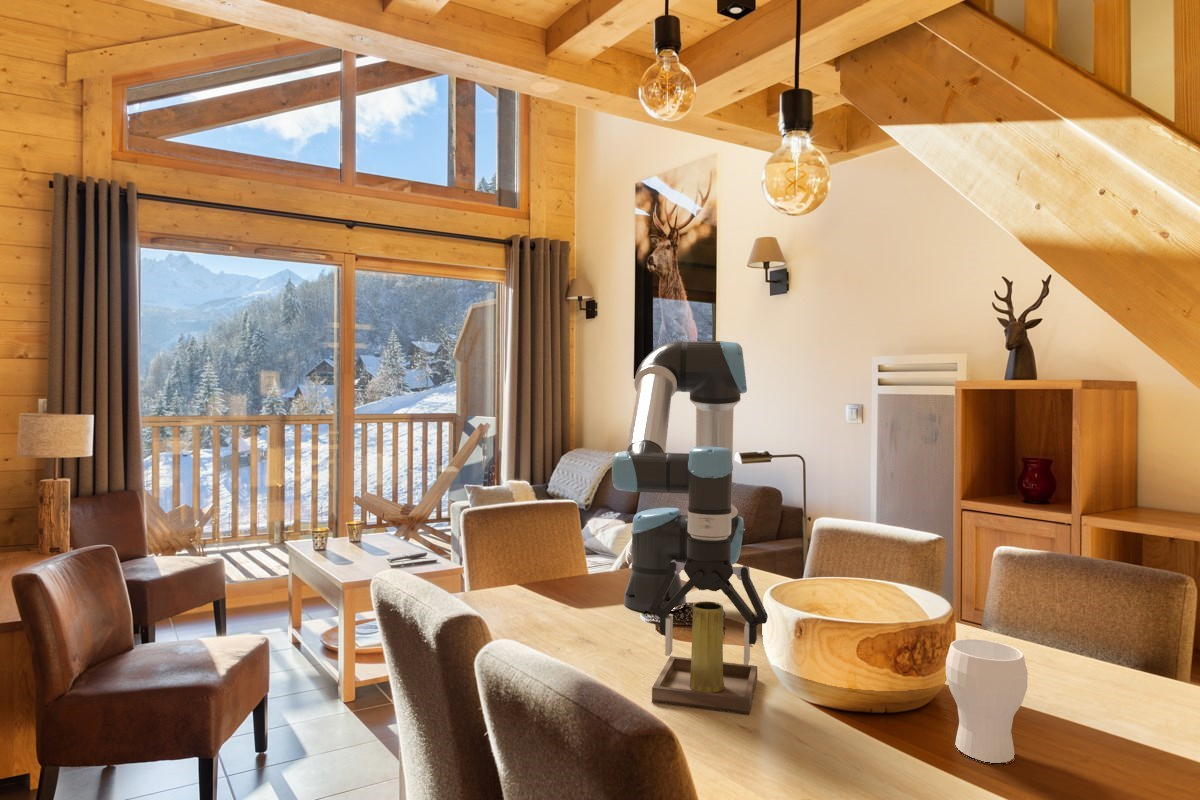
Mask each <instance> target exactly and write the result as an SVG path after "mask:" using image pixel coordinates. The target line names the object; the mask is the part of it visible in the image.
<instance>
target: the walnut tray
mask: <svg viewBox="0 0 1200 800" xmlns="http://www.w3.org/2000/svg"><path fill="white" fill-rule="evenodd" d="M690 673H691V657H682V656H674V655H673V656H672V655H670V656H669V657H668V660H667V661H666V662H665V665H664V666H663V668H662V670H661V672H660V674H659V675H658V676H657V678H656V680H655V682H654V684H653V685H652V687H651V703H653V704H659V705H660V704H661V705H668V706H676V707H681V708H682V707H683V708H689V709H699V710H705V711H707V710H708V711H712V712H713V711H715V712H721V713H728V714H729V713H730V714H737V715H742V716H743V715H744V716H750V714H751V710H752V705H753V700H754V696H755V691H756V687H757V684H758V665H751V664H748V665H744V663H735V662H725V661H723V680H724V689H723V690H722V691H721V692H718V693H710V692H702V691H694V690H693V689H691V688H690V686H689V683H690Z"/></svg>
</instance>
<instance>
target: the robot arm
mask: <svg viewBox="0 0 1200 800" xmlns="http://www.w3.org/2000/svg"><path fill="white" fill-rule="evenodd" d="M744 359H745V358H744V352H743V347H742V346H741V344H740V343H738V342H733V341H723V340H716V341H715V340H714V341H712V340H711V341H709V340H707V341H705V340H703V341H680V340H679V341H676V340H675V341H672V342H671V341H670V342H668V343H665V344H662V345H661V346H659V347H657V348H656V349H654V350H652V351H651V352H650V353H648V355H647V356H646V357H644V359H643V360H642V361H641V363H640V364H639V366H638V368H637V370H636V371H635V376H634V382H633V384H634V389H635V391H636V397H635V401H634V402H635V403H634V407H633V412H632V420H631V424H630V428H629V429H630V430H629V436H628V440H627V448H626V450H624V451H617V452H615V453H614V455H613V458H612V464H611V481H612V482H611V483H612V486H613V488H614V489H615V490H617V491H624V492H632V493H658V494H659V493H661V494H662V493H664V494H665V493H666V494H667V493H668V494H688V496H687V498H688V507H687V514H682V512H681V510H680V508H678V507H658V508H656V507H655V508H650V509H646V510H642V511H638V512H637V513H635V514H634V516H633V519H632V525H631V526H632V527H631V528H632V529H631V533H630V534H631V535H632V537H631V573H630V575H629V578H628V582H627V585H626V587H625V592H624V593H623V594H624V595H623V604H624V606H625V607H626V608H629V609H631V610H634V611H636V612H637V611H639V612H645V611H650V612H649V613H652V614H656V615H658V617H659V634H660V635H661V636H665V641H664V643H665V644H664V645H665V648H664V649H665V651H664V655H665V656H666V657H670V656H671V654H672V652H673V641H674V640H673V633H674V632H673V629H674V628H673V627H674V623H673V622H674V615H673V614H671V612H670V611H671V610H672V609H673V608H674V607H675V606H678V605H682V604H685V603H686V604H687V602H686V601H687V596H686V595H687V594H688V593H689V592H690V591H691V590H692V589H694V587H695V588H696V589H698V591H707V590H708V591H711V592H718V591H722V592H723V594H724V595H725V596H726V597H727V598H728V599H729V601H731V603H732V605H734V607H735V609H737V611H738V612H739V613H740V615H741V616H742V617H743V618H744V620H745V624H744V627H743V629H744V633H743V636H744V638H743V639H744V640H743V642H744V643H743V664H744V665H750V664H749V663H750V660H751V645H754V646H755V645H756V643H757V640H758V638H757V637H758V633H757V632H758V630H757V629H758V625H761V624H766V623H767V622H768V618H769V615H768V613H767V611H766V608H765V606H764V605H763V602H762V600H761V598H760V596H759V594H758V591H757V589H756V587H755V585H754V584H753V583H754V582H753V581H752V579H751V575H750V572H751V571H750V567H749V565H747V564H744V565H742V566H733V565H735V564H736V563H737V562H738V561H739V558H740V554H741V549H742V543H743V534H744V523H745V521H744V518H743V517H741V516H740V515H739V514H738V513H739V510H738V509H737V507H736V506H734V504H733V503H732V502H733V498H732V497H733V496H732V492H733V490H732V489H733V468H734V465H733V464H734V463H733V457H734V456H733V450H734V449H733V448H734V410H735V409H734V408H735V406H736V405H738V404H739V402H741V394H743V395H744V394H746V393H747V391H748V388H747V379H746V369H745V361H744ZM677 392H678V393H679V392H681V393H689V400H690V402H691V403H692V404H693V405H694V406H695V446H694V447H692V448H690V450H689V453H687V452H685V453H683V452H679V453H678V452H677V453H676V452H666V449H667V441H668V439H667V438H668V429H669V422H670V413H671V402H672V398H673V396H674V395H675V393H677ZM682 571H684V572H685V574H686V576H687V577H688V578H689V579H688V580H687V581H686V582H685V584H684V585H683V583H682V579H681V576H680V574H681V573H682ZM733 575H736V578H737V580H739V581H741V583H742V584H741V585H742V586H743V588H744V591H745V593H746V594H747V597H748V599H749V601H750V603H751V605H752V607H753V610H754V612H755V613H754V612H753V611H752V609H751V608H750V607H749V606H748V604H747V603H746V602H745V600H744V599H743V598H742V597H741V595H740V594H739V593H738V591H737V590H736V589H735V587H734V585H733V584H732V582H730V580H729V579H730V578H732V576H733ZM645 613H646V612H645ZM755 614H756V615H755Z"/></svg>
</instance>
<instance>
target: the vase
mask: <svg viewBox="0 0 1200 800" xmlns="http://www.w3.org/2000/svg"><path fill="white" fill-rule="evenodd" d="M691 627H692V628H691V629H692V630H691V655H690V658H691V673H690V683H689V686H690V688H691V689H693V690H694V691H702V692H710V693H718V692H721V691H722V690H723V689H724V680H723V662H724V651H723V650H724V649H723V648H724V646H723V645H724V643H723V641H724V639H723V638H724V605H723V604H721V603H719V602H716V601H697V602H695V603H693V604H692V626H691Z"/></svg>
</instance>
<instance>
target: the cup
mask: <svg viewBox="0 0 1200 800" xmlns="http://www.w3.org/2000/svg"><path fill="white" fill-rule="evenodd" d="M1025 659H1026V658H1025V655H1024V654H1023V652H1022V651H1021V650H1019V649H1018V648H1015V647H1014V646H1011V645H1010V644H1009V645H1008V644H1005V643H1002V642H998V641H995V640H994V641H992V640H986V639H978V638H962V639H956V640H953V641H952V642H950V644H949V649H948V653H947V655H946V659H945V676H946V677H945V678H946V680H947V682H948V687H949V690H950V693H951V696H952V697H953V699H954V702H955V703H956V706H957V707H956V708H957V713H958V714H957V715H958V728H957V732H956V735H955V736H956V737H955V744H954V746H955V745H956V747H957V748H958V750H960V751H961V752H963V753H964V754H966V755H968V756H970V757H972V758H975V759H978V760H981V761H984V762H983V763H985V762H990V763H989V764H991V763H1001V762H1007V761H1010V760H1011V759H1013V758H1014V755H1015V747H1014V740H1013V735H1012V727H1013V721H1014V718H1015V715H1016V713H1017V711H1018V710H1019V709H1020V707H1021V705H1022V704H1023V700H1024V698H1025V696H1026V693H1027V690H1028V675H1029V673H1028V669H1027V665H1026V660H1025ZM956 747H955V748H956ZM958 750H957V751H958ZM1014 759H1015V758H1014ZM981 761H980V762H981Z"/></svg>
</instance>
